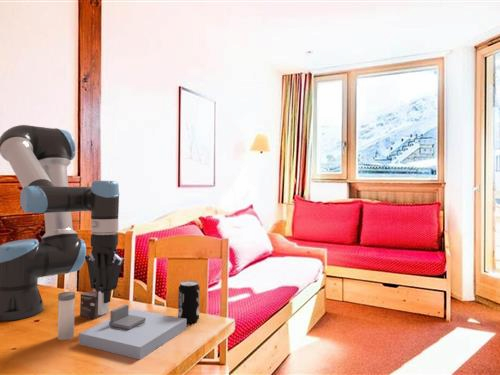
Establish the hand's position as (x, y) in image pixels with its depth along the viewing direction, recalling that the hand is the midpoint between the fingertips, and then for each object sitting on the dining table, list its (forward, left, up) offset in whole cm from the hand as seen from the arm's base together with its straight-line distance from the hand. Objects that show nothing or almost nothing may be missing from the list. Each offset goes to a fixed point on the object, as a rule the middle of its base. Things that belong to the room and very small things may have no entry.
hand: (103, 313), depth 107 cm
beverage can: (+19, +17, -5) cm, 26 cm away
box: (-11, +8, -5) cm, 14 cm away
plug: (-5, -8, -5) cm, 11 cm away
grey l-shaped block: (+9, 0, -1) cm, 9 cm away
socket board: (+12, 0, -5) cm, 13 cm away
